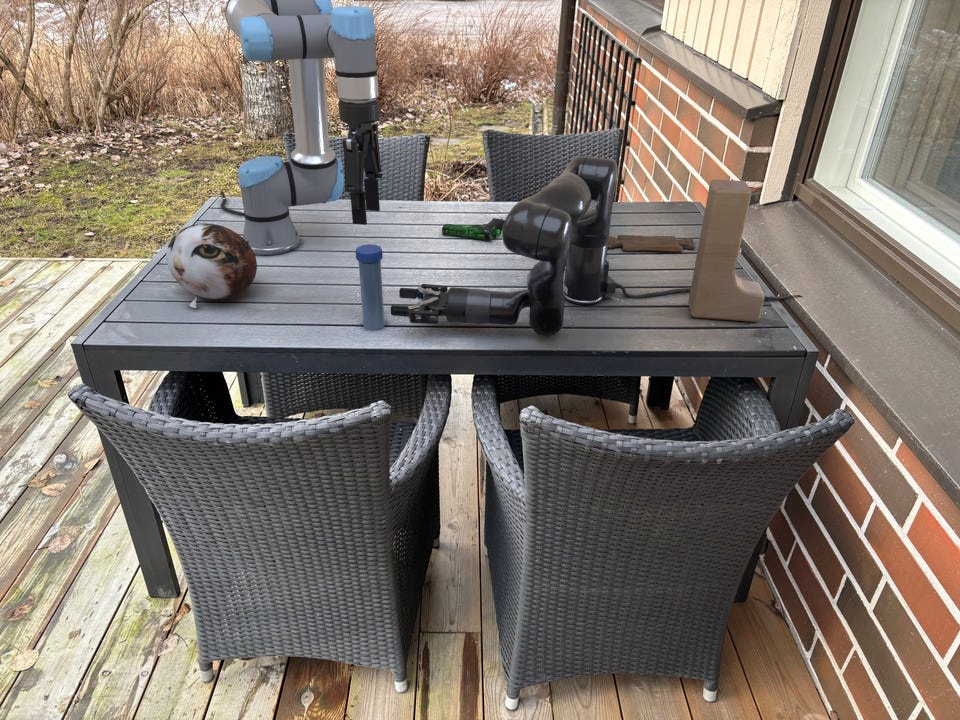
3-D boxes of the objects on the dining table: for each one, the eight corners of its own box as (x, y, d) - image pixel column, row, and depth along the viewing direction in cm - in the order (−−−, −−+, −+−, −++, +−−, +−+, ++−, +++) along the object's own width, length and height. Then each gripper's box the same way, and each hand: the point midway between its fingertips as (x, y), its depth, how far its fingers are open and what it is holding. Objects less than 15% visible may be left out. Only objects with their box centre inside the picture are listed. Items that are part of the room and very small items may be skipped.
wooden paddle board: (698, 254, 196) (690, 241, 205) (699, 248, 195) (691, 235, 204) (604, 251, 196) (600, 238, 205) (605, 245, 195) (601, 232, 204)
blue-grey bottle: (360, 322, 159) (354, 248, 150) (381, 318, 160) (376, 245, 151) (366, 331, 155) (361, 256, 146) (387, 327, 157) (383, 253, 148)
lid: (353, 255, 151) (352, 246, 150) (378, 251, 153) (377, 242, 152) (360, 265, 146) (359, 255, 145) (386, 261, 148) (385, 251, 147)
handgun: (511, 219, 210) (493, 234, 198) (511, 228, 211) (492, 244, 199) (461, 212, 215) (440, 226, 203) (461, 221, 217) (440, 236, 204)
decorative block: (759, 323, 161) (790, 192, 145) (691, 318, 162) (715, 188, 147) (752, 308, 167) (782, 182, 152) (687, 303, 169) (710, 178, 153)
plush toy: (130, 285, 161) (164, 203, 163) (192, 308, 177) (221, 233, 178) (195, 307, 151) (229, 220, 152) (254, 330, 166) (285, 250, 168)
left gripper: (357, 88, 142) (365, 199, 154) (318, 109, 125) (330, 232, 137) (393, 90, 141) (398, 202, 153) (359, 111, 124) (367, 236, 136)
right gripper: (474, 276, 156) (401, 271, 158) (465, 305, 144) (386, 300, 146) (473, 307, 160) (402, 302, 162) (465, 337, 148) (388, 332, 150)
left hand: (366, 216), depth 145 cm, fingers open, 7 cm apart
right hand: (395, 301), depth 154 cm, fingers open, 8 cm apart
